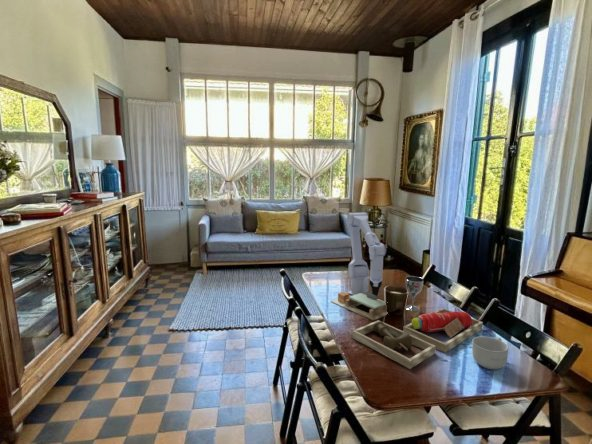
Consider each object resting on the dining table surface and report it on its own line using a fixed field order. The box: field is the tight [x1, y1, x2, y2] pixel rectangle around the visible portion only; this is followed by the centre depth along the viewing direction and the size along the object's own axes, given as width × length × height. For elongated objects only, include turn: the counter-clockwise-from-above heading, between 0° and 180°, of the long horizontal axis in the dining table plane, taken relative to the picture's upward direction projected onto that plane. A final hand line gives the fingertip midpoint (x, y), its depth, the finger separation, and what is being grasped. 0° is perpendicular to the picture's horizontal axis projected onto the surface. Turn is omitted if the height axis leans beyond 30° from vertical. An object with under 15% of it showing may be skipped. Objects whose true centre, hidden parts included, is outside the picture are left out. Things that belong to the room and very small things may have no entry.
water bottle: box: [411, 310, 473, 339], centre depth 137 cm, size 12×8×25 cm
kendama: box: [373, 321, 413, 352], centre depth 127 cm, size 6×10×20 cm
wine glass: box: [404, 275, 424, 312], centre depth 160 cm, size 8×8×15 cm
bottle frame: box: [402, 307, 484, 353], centre depth 138 cm, size 31×18×3 cm, turn 128°
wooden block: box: [337, 291, 350, 303], centre depth 167 cm, size 4×4×4 cm
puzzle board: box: [343, 290, 389, 321], centre depth 160 cm, size 20×18×4 cm
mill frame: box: [352, 319, 436, 370], centre depth 126 cm, size 16×26×3 cm, turn 38°
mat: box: [330, 298, 345, 308], centre depth 167 cm, size 10×8×1 cm
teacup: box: [471, 335, 509, 370], centre depth 115 cm, size 14×11×8 cm
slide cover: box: [349, 293, 386, 309], centre depth 157 cm, size 8×16×3 cm, turn 38°
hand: (375, 295), depth 161 cm, fingers closed
